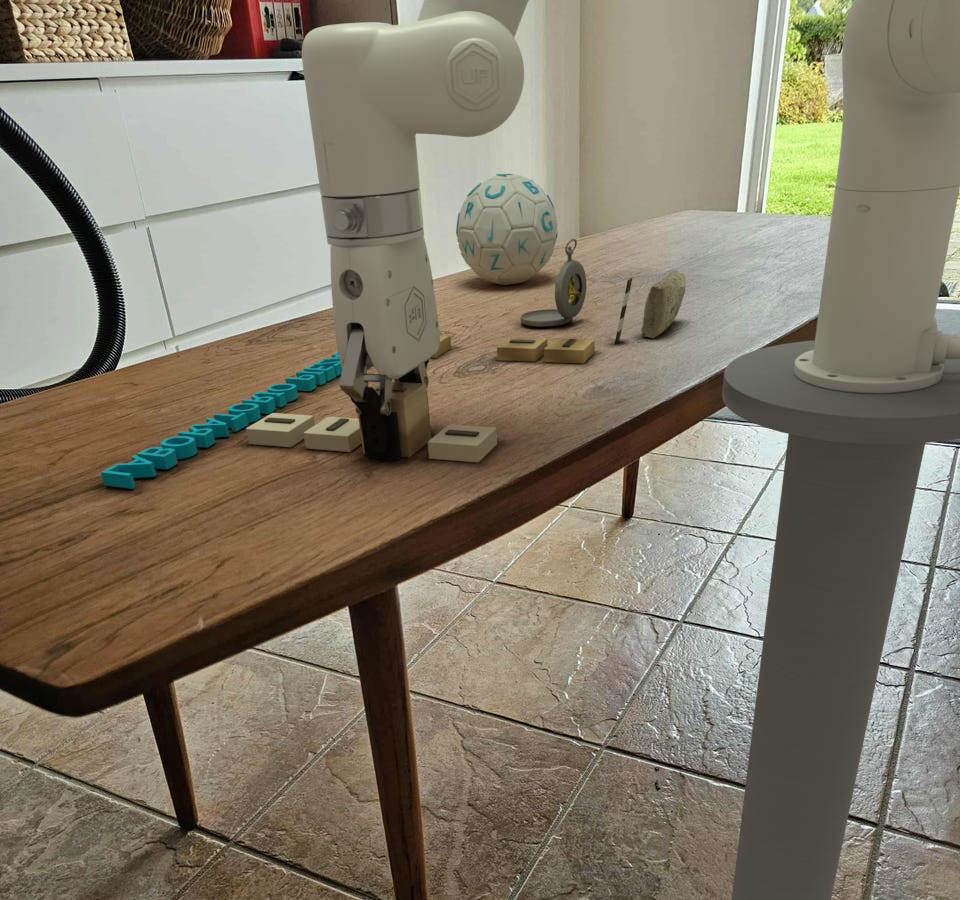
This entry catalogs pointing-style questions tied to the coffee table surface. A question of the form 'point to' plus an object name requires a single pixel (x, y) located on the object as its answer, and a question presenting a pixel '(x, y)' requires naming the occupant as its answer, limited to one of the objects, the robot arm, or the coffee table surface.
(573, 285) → the pocket watch
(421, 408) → the letter block
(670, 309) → the stone and scale-bar
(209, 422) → the text ornament
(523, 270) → the puzzle ball
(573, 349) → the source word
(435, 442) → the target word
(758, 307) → the coffee table surface
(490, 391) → the coffee table surface
